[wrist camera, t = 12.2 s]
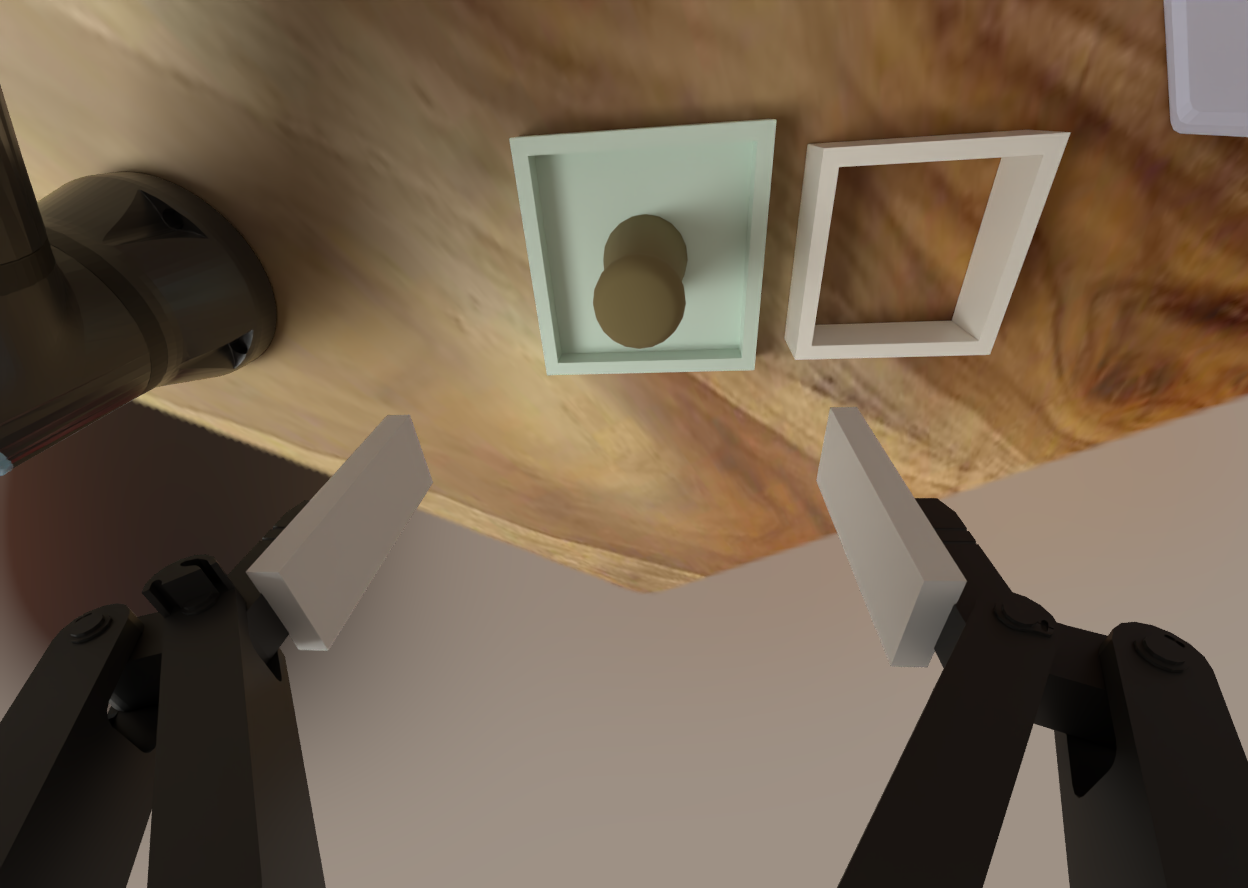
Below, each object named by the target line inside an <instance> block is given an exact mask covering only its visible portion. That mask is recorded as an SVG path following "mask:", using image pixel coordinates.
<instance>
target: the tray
mask: <svg viewBox="0 0 1248 888" xmlns="http://www.w3.org/2000/svg"><path fill="white" fill-rule="evenodd" d="M775 131H776V119H758V120H744V121H730V122H715V123H701V124H687V125H673V126H659V127H644V128H630V129H616V130H602V131H587V132H573V133H559V134H545V135H531V136H518V137H513V138H509V141H510V147H511V153H512V159H513V165H514V172H515V178H516V184H517V190H518V197H519V203H520V209H521V215H522V222H523V228H524V234H525V240H526V247H527V253H528V259H529V265H530V272H531V278H532V284H533V290H534V296H535V303H536V309H537V315H538V321H539V328H540V334H541V340H542V346H543V353H544V359H545V365H546V371H547V375H574V374H616V373H657V372H698V371H739V370H754V368H755V357H756V345H757V334H758V323H759V312H760V300H761V289H762V278H763V267H764V255H765V244H766V233H767V221H768V210H769V199H770V188H771V176H772V165H773V154H774V142H775ZM643 214H648V215H654V216H659V217H661V218H663V219H665V220H667V221H668V222H670V223H672V224H673V225H674V227H675V228H676V229H677V230H678V231H679V232H680V233H681V235H682V237H683V240H684V242H685V244H686V248H687V257H688V261H687V266H686V271H685V275H684V277H683V280H682V283H683V285H684V291H685V300H686V306H685V311H684V315H683V319H682V320H681V322H680V324H679V326H678V327H677V329H676V331H675V332H674V333H673V334H672V335H671V336H670V337H668V338H667V339H666V340H665V341H664V342H662V343H660V344H657V345H655V346H653V347H649V348H641V349H637V348H630V347H625V346H623V345H621V344H619V343H617V342H615V341H613V340H612V339H611V338H610V337H609V336H608V335H607V334H605V333H604V332H603V330H602V328H601V326H600V325H599V323H598V321H597V319H596V316H595V311H594V307H593V297H594V289H595V287H596V284H597V282H598V280H599V278H600V275H601V273H602V272H603V271H604V264H603V257H604V248H605V245H606V242H607V240H608V238H609V236H610V234H611V232H612V231H613V230H614V229H615V228H616V227H617V226H618V225H619V224H620V223H621V222H623V221H625V220H627V219H628V218H630V217H632V216H638V215H643Z"/></svg>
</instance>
